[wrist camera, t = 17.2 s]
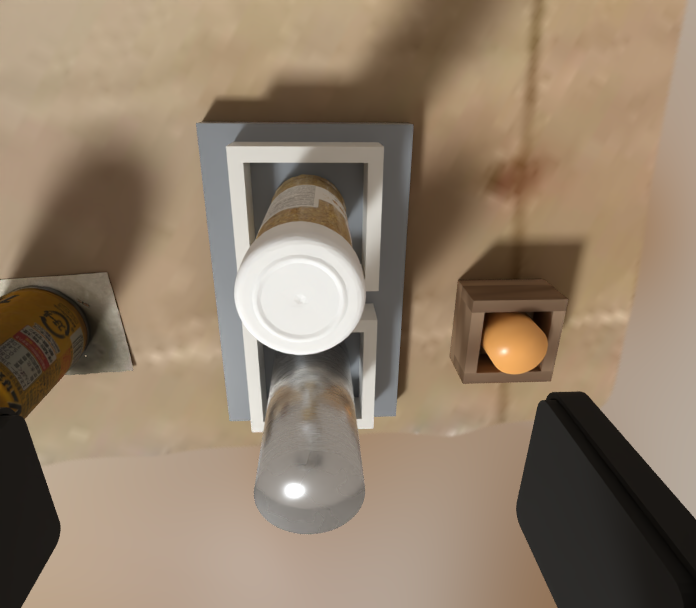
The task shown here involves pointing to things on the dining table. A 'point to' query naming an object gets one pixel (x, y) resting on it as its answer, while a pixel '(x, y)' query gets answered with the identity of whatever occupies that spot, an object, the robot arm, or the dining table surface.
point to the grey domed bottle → (310, 444)
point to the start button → (513, 341)
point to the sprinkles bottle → (301, 271)
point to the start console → (503, 297)
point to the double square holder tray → (365, 228)
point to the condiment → (56, 335)
